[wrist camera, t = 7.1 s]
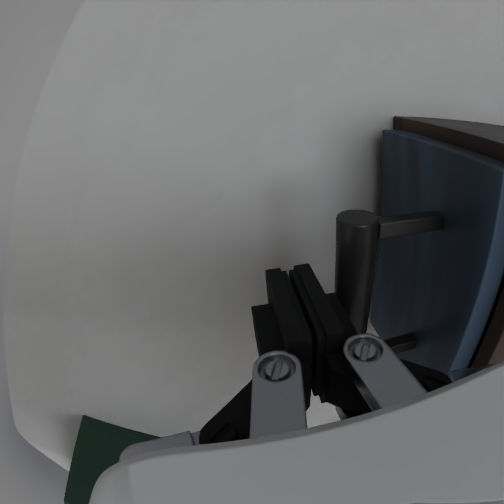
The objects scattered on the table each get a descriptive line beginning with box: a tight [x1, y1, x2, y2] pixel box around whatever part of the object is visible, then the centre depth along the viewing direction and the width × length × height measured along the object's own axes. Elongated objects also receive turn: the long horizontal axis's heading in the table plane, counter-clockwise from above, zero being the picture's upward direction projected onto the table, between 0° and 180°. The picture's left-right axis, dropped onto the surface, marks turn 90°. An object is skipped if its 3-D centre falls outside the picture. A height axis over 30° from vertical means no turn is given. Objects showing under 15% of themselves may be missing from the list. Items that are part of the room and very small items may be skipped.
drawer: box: [334, 130, 504, 375], centre depth 13 cm, size 18×11×8 cm, turn 96°
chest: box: [64, 416, 159, 504], centre depth 23 cm, size 16×13×9 cm
